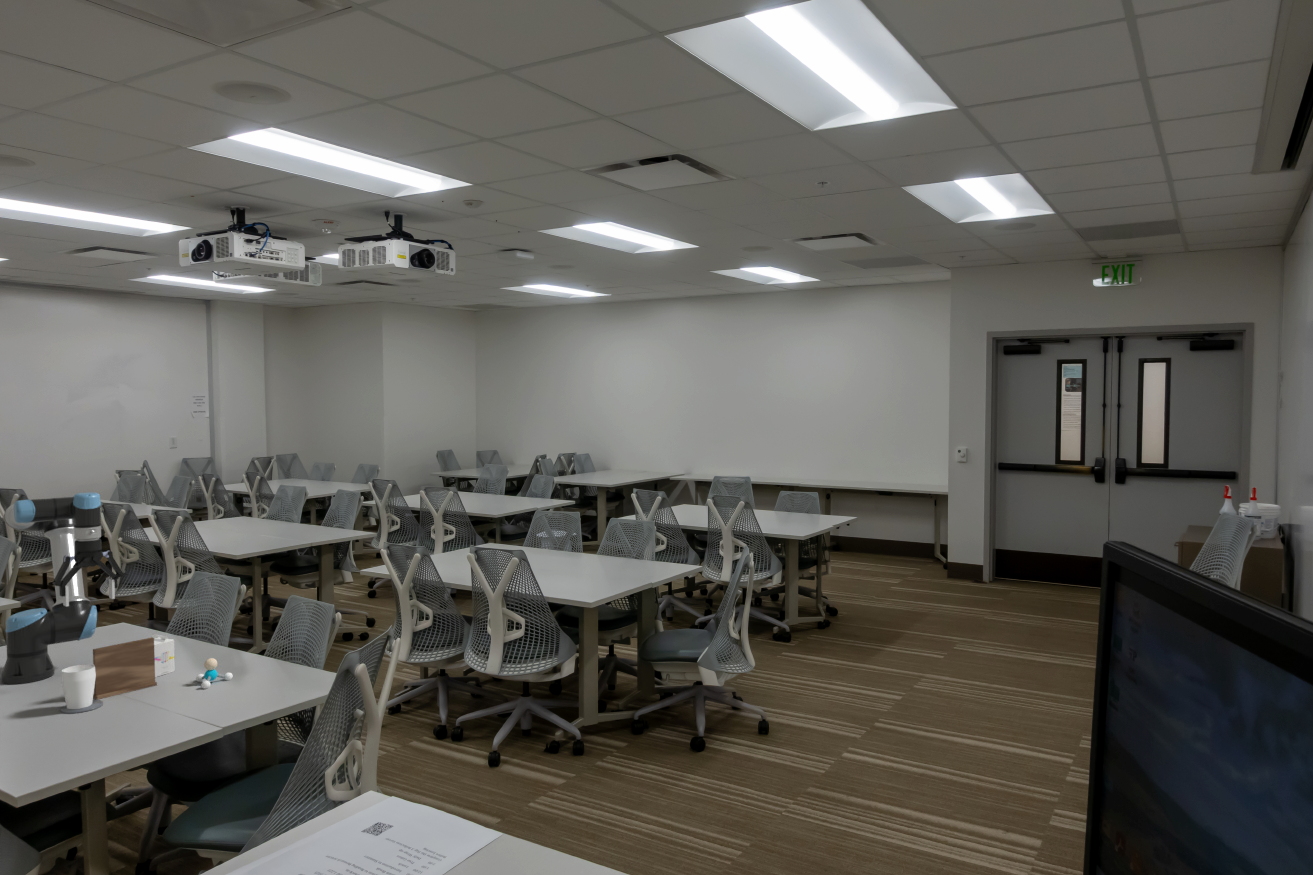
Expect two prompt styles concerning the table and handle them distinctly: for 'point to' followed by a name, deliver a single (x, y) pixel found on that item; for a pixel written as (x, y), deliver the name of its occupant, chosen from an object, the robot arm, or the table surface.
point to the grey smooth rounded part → (94, 705)
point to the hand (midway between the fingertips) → (89, 601)
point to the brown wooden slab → (124, 668)
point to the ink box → (163, 655)
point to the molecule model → (211, 673)
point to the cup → (78, 685)
